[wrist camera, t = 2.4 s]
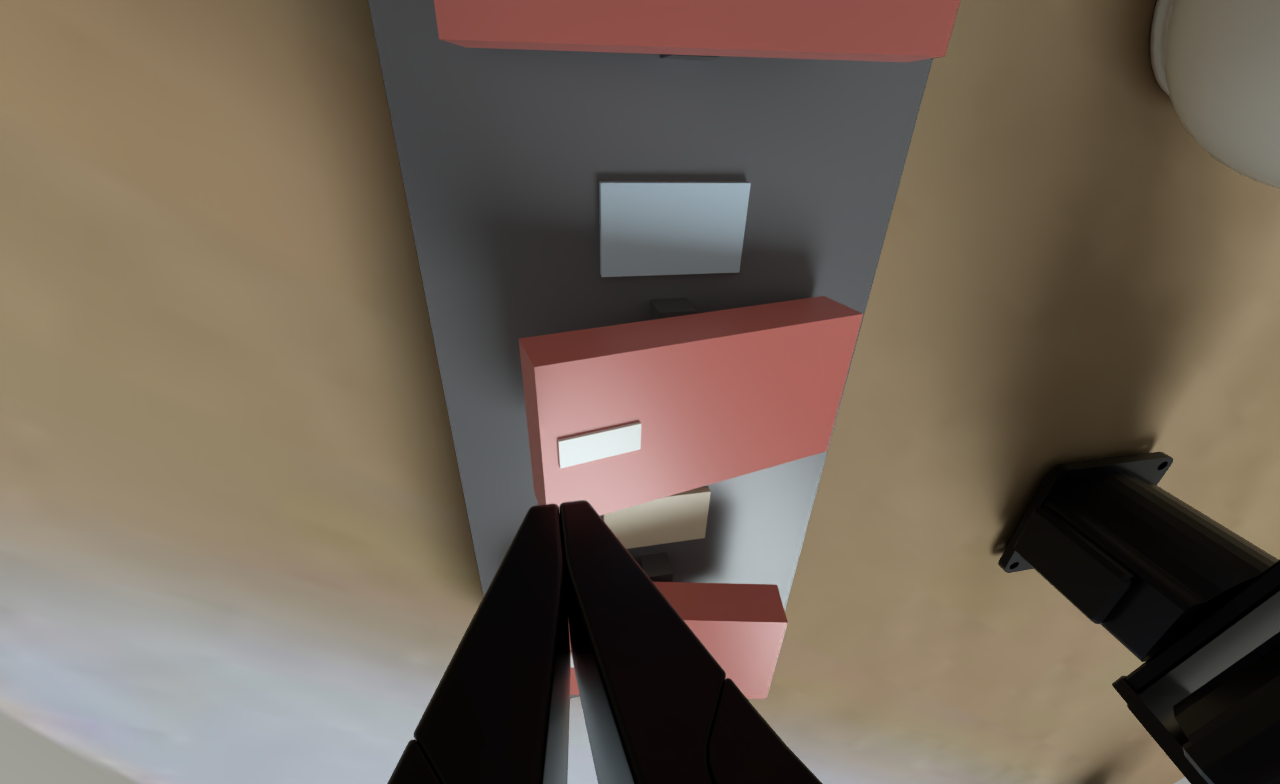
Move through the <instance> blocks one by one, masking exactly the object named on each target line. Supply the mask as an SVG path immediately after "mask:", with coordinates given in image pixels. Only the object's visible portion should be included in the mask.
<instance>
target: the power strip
mask: <svg viewBox="0 0 1280 784" xmlns="http://www.w3.org/2000/svg"><path fill="white" fill-rule="evenodd" d="M368 3H369V8H370V13H371V18H372V23H373V29H374V34H375V39H376V44H377V49H378V54H379V59H380V65H381V70H382V75H383V80H384V85H385V90H386V96H387V101H388V106H389V111H390V116H391V121H392V127H393V132H394V137H395V142H396V147H397V152H398V157H399V163H400V168H401V173H402V178H403V183H404V188H405V194H406V199H407V204H408V209H409V214H410V219H411V225H412V230H413V235H414V240H415V245H416V250H417V255H418V261H419V266H420V271H421V276H422V281H423V286H424V292H425V297H426V302H427V307H428V312H429V317H430V323H431V328H432V333H433V338H434V343H435V348H436V354H437V359H438V364H439V369H440V374H441V379H442V384H443V390H444V395H445V400H446V405H447V410H448V415H449V421H450V426H451V431H452V436H453V441H454V446H455V452H456V457H457V462H458V467H459V472H460V477H461V482H462V488H463V493H464V498H465V503H466V508H467V513H468V519H469V524H470V529H471V534H472V539H473V544H474V550H475V555H476V560H477V565H478V570H479V575H480V581H481V586H482V591H483V596H484V595H485V593H486V591H487V590H488V588H489V586H490V584H491V582H492V580H493V578H494V576H495V574H496V572H497V570H498V568H499V566H500V564H501V562H502V560H503V558H504V556H505V554H506V553H507V551H508V549H509V547H510V545H511V543H512V541H513V539H514V537H515V535H516V533H517V531H518V529H519V527H520V525H521V523H522V521H523V519H524V518H525V516H526V514H527V512H528V510H529V509H530V508H531V507H532V506H536V505H539V504H538V501H537V499H536V496H535V493H534V486H533V477H532V467H531V457H530V447H529V437H528V427H527V417H526V407H525V398H524V388H523V378H522V368H521V358H520V348H519V338H526V337H533V336H540V335H548V334H555V333H562V332H569V331H576V330H583V329H590V328H598V327H605V326H612V325H619V324H626V323H633V322H640V321H648V320H655V319H662V318H669V317H676V316H683V315H690V314H698V313H705V312H712V311H719V310H726V309H733V308H741V307H748V306H755V305H762V304H769V303H776V302H783V301H791V300H798V299H805V298H812V297H819V296H826V297H828V298H830V299H832V300H834V301H836V302H839V303H841V304H843V305H845V306H847V307H849V308H852V309H854V310H856V311H858V312H860V313H862V314H863V317H864V313H865V309H866V306H867V302H868V298H869V294H870V291H871V287H872V283H873V280H874V276H875V272H876V268H877V265H878V261H879V257H880V253H881V250H882V246H883V242H884V238H885V235H886V231H887V227H888V224H889V220H890V216H891V212H892V209H893V205H894V201H895V197H896V194H897V190H898V186H899V183H900V179H901V175H902V171H903V168H904V164H905V160H906V156H907V153H908V149H909V145H910V141H911V138H912V134H913V130H914V127H915V123H916V119H917V115H918V112H919V108H920V104H921V100H922V97H923V93H924V89H925V86H926V82H927V78H928V74H929V71H930V67H931V63H932V59H933V58H931V59H925V60H918V61H911V62H880V61H850V60H821V59H791V58H761V57H732V56H702V55H673V54H643V53H614V52H584V51H554V50H525V49H495V48H466V47H463V46H459V45H456V44H453V43H450V42H446V41H443V40H440V39H439V34H438V27H437V20H436V13H435V6H434V0H368ZM863 317H862V321H863ZM862 321H861V324H862ZM861 324H860V328H861ZM860 328H859V332H860ZM859 332H858V335H859ZM857 339H858V336H857ZM857 339H856V343H857ZM856 343H855V347H856ZM855 347H854V350H855ZM853 354H854V351H853ZM853 354H852V358H853ZM852 358H851V362H852ZM851 362H850V365H851ZM849 369H850V366H849ZM849 369H848V373H849ZM848 373H847V377H848ZM847 377H846V380H847ZM845 384H846V381H845ZM845 384H844V388H845ZM844 388H843V391H844ZM842 395H843V392H842ZM841 399H842V396H841ZM841 399H840V403H841ZM840 403H839V406H840ZM838 410H839V407H838ZM837 414H838V411H837ZM837 414H836V418H837ZM836 418H835V421H836ZM834 425H835V422H834ZM833 429H834V426H833ZM833 429H832V432H833ZM831 436H832V433H831ZM830 440H831V437H830ZM829 444H830V441H829ZM829 444H828V447H829ZM827 451H828V448H827ZM827 451H826V452H823V453H819V454H816V455H812V456H809V457H805V458H802V459H798V460H795V461H791V462H787V463H784V464H780V465H777V466H773V467H770V468H766V469H763V470H759V471H756V472H752V473H749V474H745V475H742V476H738V477H735V478H731V479H728V480H724V481H720V482H717V483H713V484H710V485H706V486H703V487H699V488H696V489H692V490H689V491H685V492H682V493H678V494H675V495H671V496H668V497H664V498H661V499H657V500H653V501H650V502H646V503H643V504H639V505H636V506H632V507H629V508H625V509H622V510H618V511H615V512H611V513H608V514H604V515H601V516H600V517H601V518H602V519H603V521H604V522H605V523H606V524H607V526H608V527H609V528H610V529H611V531H612V532H613V533H614V534H615V536H616V537H617V538H618V539H619V540H620V542H621V543H622V544H623V545H624V547H625V548H626V549H627V550H628V552H629V553H630V554H631V555H632V557H633V558H634V559H635V560H636V562H637V563H638V564H639V565H640V567H641V568H642V569H643V570H644V572H645V573H646V574H647V575H648V577H649V578H650V579H651V580H652V582H689V583H731V584H773V585H777V586H778V590H779V593H780V597H781V601H782V604H783V608H784V611H785V608H786V604H787V600H788V597H789V593H790V589H791V585H792V582H793V578H794V574H795V571H796V567H797V563H798V559H799V556H800V552H801V548H802V544H803V541H804V537H805V533H806V529H807V526H808V522H809V518H810V515H811V511H812V507H813V503H814V500H815V496H816V492H817V488H818V485H819V481H820V477H821V474H822V470H823V466H824V462H825V459H826V455H827ZM574 697H580V695H570V698H574Z"/></svg>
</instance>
